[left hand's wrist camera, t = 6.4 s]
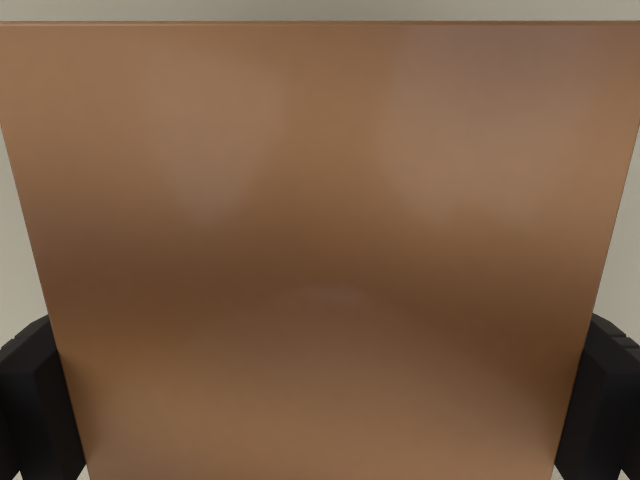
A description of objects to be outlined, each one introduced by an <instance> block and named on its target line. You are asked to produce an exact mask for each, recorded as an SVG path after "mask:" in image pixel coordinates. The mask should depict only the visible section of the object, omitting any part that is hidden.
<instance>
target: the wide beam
mask: <svg viewBox="0 0 640 480" xmlns="http://www.w3.org/2000/svg"><path fill="white" fill-rule="evenodd" d="M0 124H1V128H2V132H3V136H4V140H5V144H6V148H7V152H8V156H9V160H10V164H11V168H12V172H13V176H14V180H15V184H16V188H17V192H18V196H19V200H20V204H21V208H22V212H23V216H24V220H25V223H26V227H27V231H28V235H29V239H30V243H31V247H32V251H33V255H34V259H35V263H36V267H37V271H38V275H39V279H40V283H41V287H42V291H43V295H44V299H45V303H46V307H47V311H48V315H49V319H50V323H51V326H52V330H53V334H54V338H55V342H56V346H57V350H58V354H59V358H60V362H61V366H62V370H63V374H64V378H65V382H66V386H67V390H68V394H69V398H70V402H71V406H72V410H73V414H74V418H75V422H76V426H77V429H78V433H79V437H80V441H81V445H82V449H83V453H84V457H85V461H86V465H87V469H88V473H89V477H90V480H551V476H552V472H553V468H554V464H555V460H556V456H557V452H558V448H559V444H560V440H561V436H562V432H563V428H564V424H565V420H566V416H567V412H568V408H569V404H570V400H571V396H572V392H573V388H574V384H575V380H576V376H577V372H578V368H579V364H580V360H581V356H582V352H583V348H584V344H585V340H586V336H587V332H588V328H589V324H590V320H591V316H592V312H593V308H594V304H595V301H596V297H597V293H598V289H599V285H600V281H601V277H602V273H603V269H604V265H605V261H606V257H607V253H608V249H609V245H610V241H611V237H612V233H613V229H614V225H615V221H616V217H617V213H618V209H619V205H620V201H621V197H622V193H623V189H624V185H625V181H626V177H627V173H628V169H629V165H630V161H631V157H632V153H633V149H634V145H635V141H636V137H637V133H638V129H639V125H640V21H0Z"/></svg>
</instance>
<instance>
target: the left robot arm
mask: <svg viewBox="0 0 640 480" xmlns="http://www.w3.org/2000/svg"><path fill="white" fill-rule="evenodd" d="M85 465H86V461H85V457H84V453H83V449H82V445H81V441H80V437H79V433H78V429H77V426H76V422H75V418H74V414H73V410H72V406H71V402H70V398H69V394H68V390H67V386H66V382H65V378H64V374H63V370H62V366H61V362H60V358H59V354H58V350H57V346H56V342H55V338H54V334H53V330H52V326H51V323H50V319H49V315H46V316H44V317H42V318H40V319H38V320H36V321H34V322H32V323H30V324H29V325H28V326H27V327H25V328H24V329H23V330H22V331H21V332H19V333H18V334H17V335H16V336H15V339H11V340H10V341H8V342H7V343H6V344H5V345H4V346H2V347H1V350H0V480H12V479H13V478H14V477H15V476H16V474H17V473H18V472H19V471H20V472H21V475H22V478H23V480H76V479H77V478H78V476H79V475H80V473H81V471H82V470H83V468H84V466H85ZM555 466H556V468H557V469H558V471H559V472H560V474H561V476H562V477H563V479H564V480H618V477H619V474H620V471H621V469H622V470H623V471H624V473H625V474H626V475H627V477H628V478H629V479H630V480H640V346H639V345H638V344H637V343H636V342H634V341H633V340H632V339H631V338H630V337H626V334H625V333H623V332H622V331H621V330H620V329H618V328H617V327H616V326H615V325H614V324H612V323H611V322H610V321H608V320H606V319H604V318H602V317H600V316H598V315H596V314H594V313H592V316H591V320H590V324H589V328H588V332H587V336H586V340H585V344H584V348H583V352H582V356H581V360H580V364H579V368H578V372H577V376H576V380H575V384H574V388H573V392H572V396H571V400H570V404H569V408H568V412H567V416H566V420H565V424H564V428H563V432H562V436H561V440H560V444H559V448H558V452H557V456H556V460H555Z"/></svg>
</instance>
